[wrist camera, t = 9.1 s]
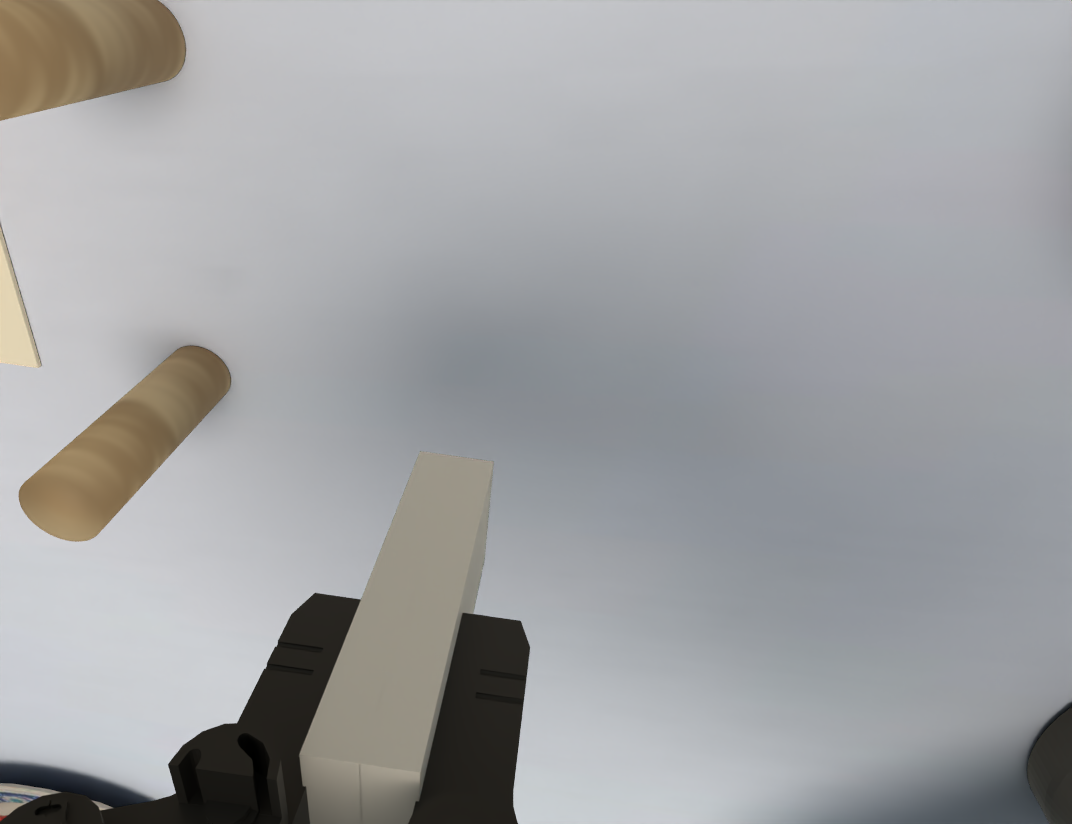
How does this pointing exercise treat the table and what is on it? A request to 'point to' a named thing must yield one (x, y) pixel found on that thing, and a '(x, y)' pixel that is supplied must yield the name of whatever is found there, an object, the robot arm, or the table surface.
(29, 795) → the ceramic plate
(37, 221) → the table surface
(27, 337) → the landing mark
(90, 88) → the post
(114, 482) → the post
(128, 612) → the table surface
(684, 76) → the table surface
